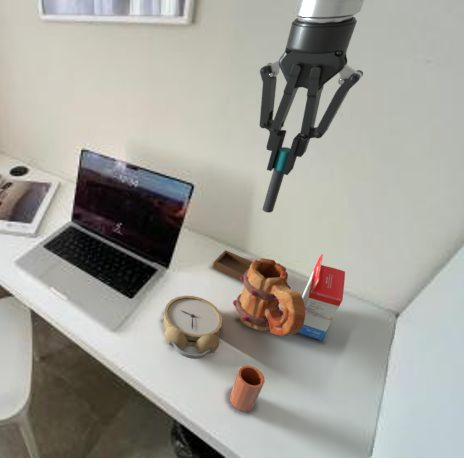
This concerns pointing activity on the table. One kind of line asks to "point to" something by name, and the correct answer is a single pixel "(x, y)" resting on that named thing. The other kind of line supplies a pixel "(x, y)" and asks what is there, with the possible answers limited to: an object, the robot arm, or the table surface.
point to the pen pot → (246, 388)
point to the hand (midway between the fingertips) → (279, 169)
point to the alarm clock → (192, 325)
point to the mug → (269, 300)
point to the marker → (276, 179)
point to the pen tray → (232, 265)
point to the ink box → (322, 299)
